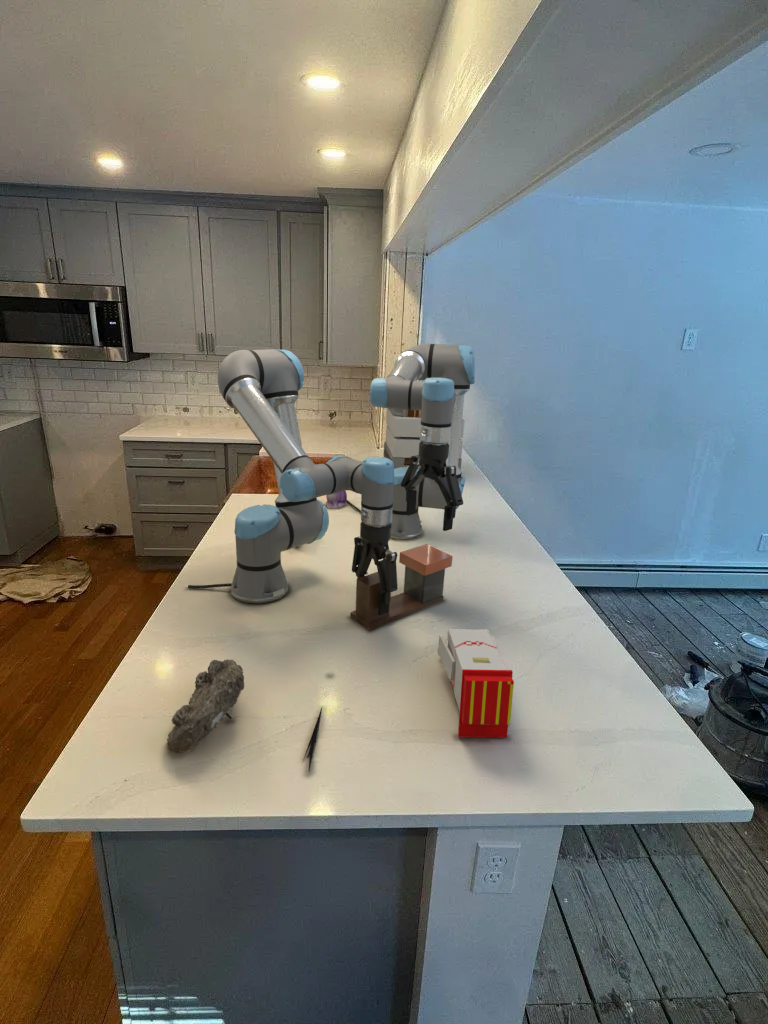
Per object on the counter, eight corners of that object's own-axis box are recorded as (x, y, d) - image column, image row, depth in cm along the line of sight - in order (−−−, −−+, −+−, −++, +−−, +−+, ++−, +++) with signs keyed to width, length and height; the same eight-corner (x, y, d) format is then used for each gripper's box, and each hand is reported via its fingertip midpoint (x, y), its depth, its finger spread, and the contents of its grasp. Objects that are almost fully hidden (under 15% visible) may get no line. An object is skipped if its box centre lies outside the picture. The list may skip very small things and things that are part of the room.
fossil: (192, 660, 117) (244, 628, 112) (224, 691, 120) (276, 661, 115) (142, 746, 98) (202, 712, 93) (182, 779, 101) (242, 748, 96)
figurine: (329, 510, 219) (330, 473, 214) (320, 502, 228) (320, 466, 222) (352, 507, 223) (353, 470, 218) (341, 499, 232) (342, 464, 227)
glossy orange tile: (398, 566, 153) (399, 552, 152) (425, 557, 159) (426, 543, 158) (424, 580, 146) (425, 565, 145) (451, 570, 152) (452, 556, 151)
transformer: (382, 463, 289) (386, 382, 275) (445, 464, 293) (451, 384, 279) (390, 482, 257) (394, 392, 243) (460, 483, 261) (468, 394, 247)
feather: (331, 679, 122) (336, 673, 122) (307, 777, 96) (313, 769, 95) (324, 675, 122) (329, 669, 121) (298, 772, 95) (304, 764, 95)
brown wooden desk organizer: (350, 617, 145) (351, 576, 141) (422, 589, 161) (425, 552, 157) (370, 630, 139) (371, 589, 135) (443, 600, 155) (446, 562, 152)
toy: (488, 613, 130) (523, 677, 101) (484, 667, 133) (517, 744, 104) (435, 612, 130) (455, 676, 101) (432, 666, 133) (451, 743, 103)
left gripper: (338, 513, 140) (336, 595, 148) (392, 539, 126) (388, 628, 134) (361, 507, 145) (359, 587, 153) (417, 532, 131) (411, 618, 138)
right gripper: (390, 434, 147) (386, 510, 154) (461, 454, 130) (453, 540, 137) (411, 431, 152) (406, 505, 159) (483, 450, 134) (474, 533, 142)
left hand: (372, 606), depth 143 cm, fingers open, 8 cm apart
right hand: (428, 521), depth 148 cm, fingers open, 13 cm apart
